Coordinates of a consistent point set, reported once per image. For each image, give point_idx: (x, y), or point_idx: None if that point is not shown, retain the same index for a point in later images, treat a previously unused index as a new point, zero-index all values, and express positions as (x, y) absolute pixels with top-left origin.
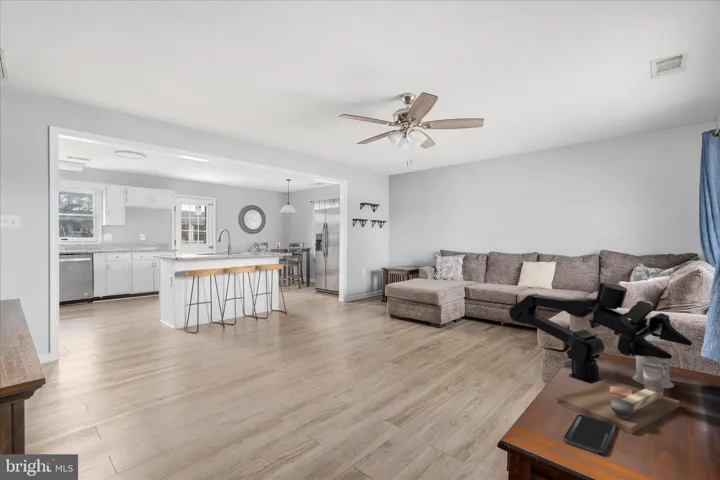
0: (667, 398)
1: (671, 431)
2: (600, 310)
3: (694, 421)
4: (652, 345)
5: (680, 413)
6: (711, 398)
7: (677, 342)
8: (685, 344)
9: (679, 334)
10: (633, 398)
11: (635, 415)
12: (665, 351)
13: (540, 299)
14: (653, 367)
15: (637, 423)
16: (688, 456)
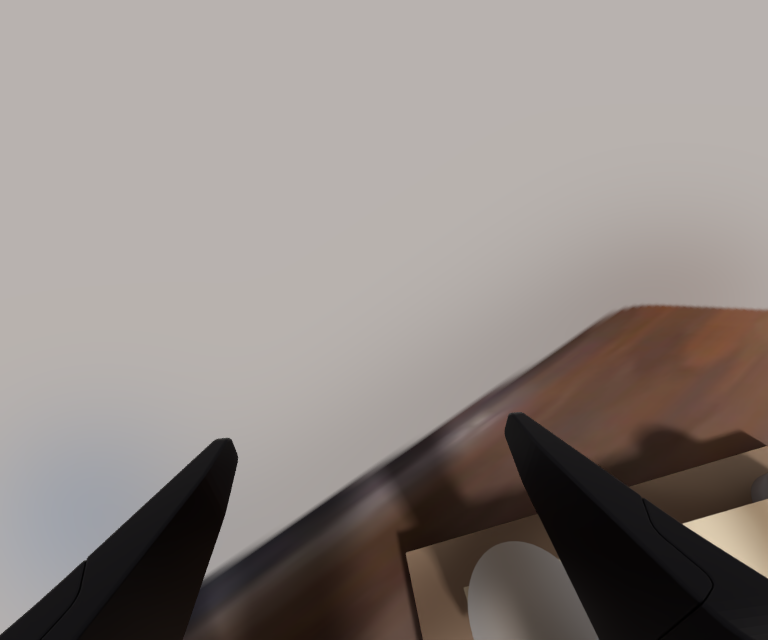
0: (427, 597)
1: (595, 430)
2: None
3: (466, 456)
4: (654, 535)
5: (458, 511)
6: (234, 566)
7: (201, 576)
8: (227, 495)
9: (142, 532)
10: (734, 544)
11: (714, 510)
12: (540, 440)
13: None
14: (543, 594)
15: (740, 455)
16: (638, 342)
